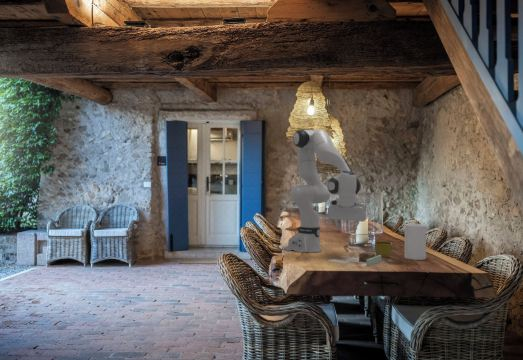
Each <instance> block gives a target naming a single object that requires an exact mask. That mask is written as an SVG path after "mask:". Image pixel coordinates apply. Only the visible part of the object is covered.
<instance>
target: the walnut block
mask: <svg viewBox="0 0 523 360" xmlns="http://www.w3.org/2000/svg"><path fill="white" fill-rule="evenodd" d="M358 255H359V256H358V258H359V262H358V263H360V262H366V260H367V259H370V258H373V257H375V255H376V252H375V253H374V252H364V251H363V252H361V253H359V254H358Z"/></svg>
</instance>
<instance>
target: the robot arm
mask: <svg viewBox="0 0 523 360" xmlns="http://www.w3.org/2000/svg"><path fill="white" fill-rule="evenodd" d="M292 140H293V144H294V146H295V147H297V155H296V156H297V157H296V160H297V169H298V170H297V171H298V176H299V178H301V180H303V181H304V182H305V183H306V184H299V185H296V186H292V188H291V189H290V192H289V198H290V199H291V201H292V202H293V203H294V204H295V205H296V207H297V208H298V211H299V215H300V216H299V219H300V226H298V227H297V228H296V230H297V232H296V233H295V234H294V235H293V236H291V237H290V238H289V239H288V243H287V246H285V247H283V250H286V251H291V250H294V251H293V252H297V251H298V252H299V253H317V252H318V253H319V252H322V246H321V240H320V235H321V227H320V214H319V212H318V211H317V210H316V209H314V208H313V205H312V204H322V203H326V202H327V203H328V201H329V200H330V198H331V195H335V196H336V195H337V196H338V198H336V199H333V200H330V201H329V207H328V212H327V213H328V214H327V217H328V219H329V220H330V219H331V220H334V223H335V227H336V228H337V229H340V228H341V224H339V220H341V221H349V222H350V221H351V222H352V221H354V222H355V225H353V226H352V230H353V231H354V230H355V231H357V230H358V226H359V224H360V222H366V220H367V206H366V204H365V203H364V202H363V203H362V202H361V203H360V202H357V194H358V193H359V192H360V190H361V187H362V186H361V181H360V180H359V178H358V177H357V176H356V173H355V172H354V171H353V170H352V168H351V167H350V165H349V163H348V161H347V160H346V158H345V157H344V155H343V154H341V153H340V151H338V149H337V148H336V146H334V143H333V141H332V138H331V137H330V135H329V133H328V131H326V130H324V129H299V130H296V131H295V132H294V134H293V138H292ZM316 157H317V159H318V160H319V162H322V163H323V164H324V163H325V164H328V165H331V166H333V167H336V168H337V169H338V171H339V174H337V175H336V176H333V177H331V178H329V179H328V182H327V186H326V185H325V184H324V182H323V181H322V180H321V178H320V176H319V173H318V167H317V160H316Z"/></svg>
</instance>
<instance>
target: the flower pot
mask: <svg viewBox="0 0 523 360" xmlns="http://www.w3.org/2000/svg"><path fill="white" fill-rule="evenodd" d="M374 247H375V248H374V250H375V255H376V256H378V255H381V259H383V258H385V259H389V258H390V257H391V255H392V247H393V243H392V242H391V241H379V240H378V241H376V240H375V241H374Z"/></svg>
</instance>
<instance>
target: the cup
mask: <svg viewBox="0 0 523 360" xmlns="http://www.w3.org/2000/svg"><path fill="white" fill-rule="evenodd" d="M403 251H404V254H403V255H404V258H405V259H406V260H410V261H411V260H413V261H424V260H426V258H427V224H422V223H405V224H404V250H403Z"/></svg>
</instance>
